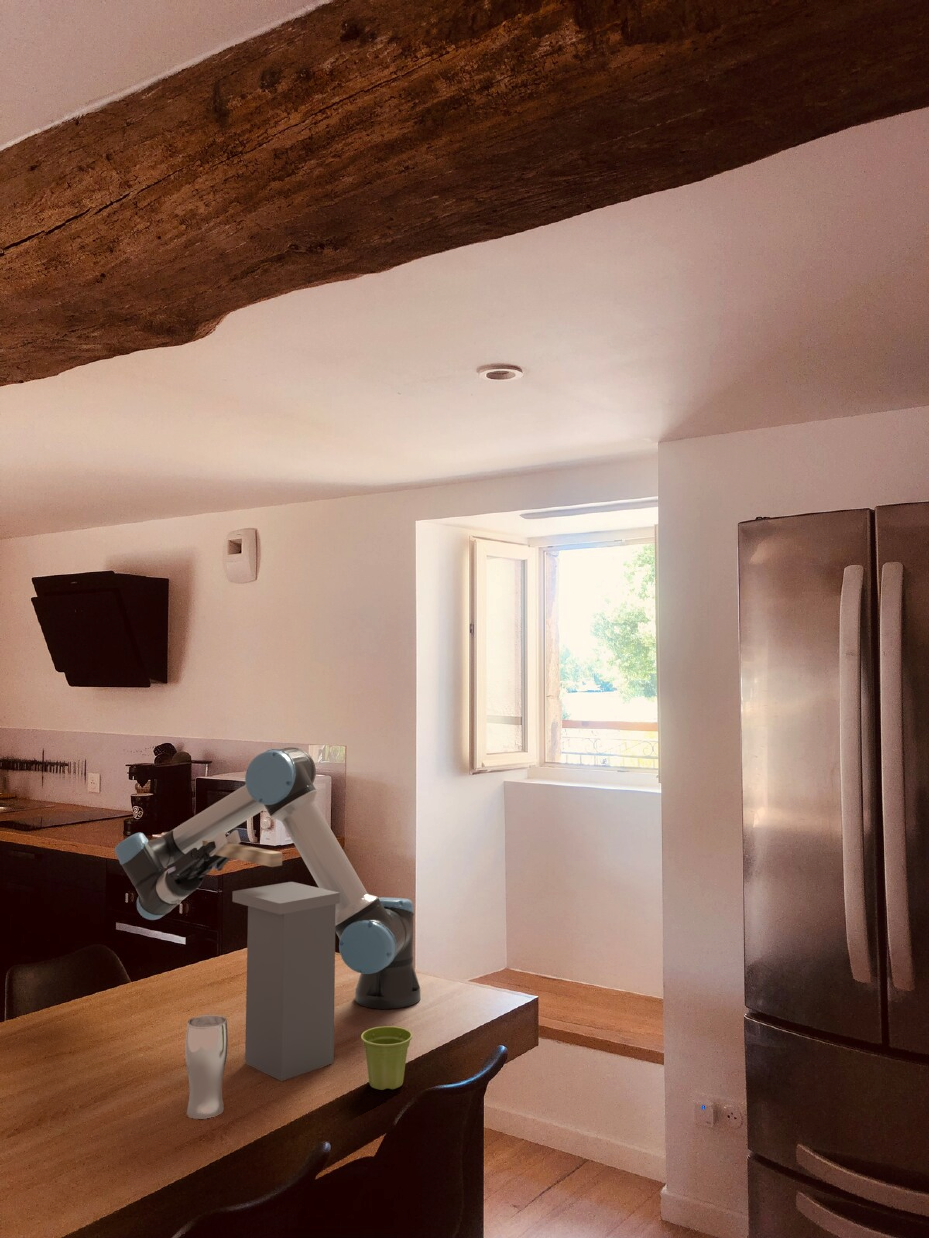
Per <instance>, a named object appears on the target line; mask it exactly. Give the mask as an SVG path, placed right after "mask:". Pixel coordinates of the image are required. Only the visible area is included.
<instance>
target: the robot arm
mask: <svg viewBox="0 0 929 1238" xmlns="http://www.w3.org/2000/svg"><path fill="white" fill-rule="evenodd" d="M315 764H316V763H315V761H314V760H313V758H312V756H311V755H310V754H309V753H308V752H306V751H305V750H303V749H301V748H298V747H284V748H279V749H278V748H272V749H268V750H266V751H262V752H261V753H259V754H258V755H256V756H255V757H254V758H253V759H252V760H251V761H250V763H249V764H248V766H247V770H246V772H245V775H244V776H245V777H244V778H245V779H244V781H245V784H244V785H243V786H241V787H239V788H238V789H236V790H234V791H233V792H231V793H230V794H228V795H226V796H225V797H223V798H221V799H220V800H218V801H216V802H215V803H213V804H212V805H210V806H209V807H207V808H205V809H204V810H202V811H201V812H199V813H197V814H196V815H194V816H193V817H190V818H189V819H188V820H186V821H184V822H182V823H180V825H178V826H177V827H175V828H173V829H171V830H170V831H168V832H167V833H165V834H163V835H161V836H159V837H157V838H154V839H148V838H147V837H146V835H145V834H144V833H143V832H136V833H134V834H132V835H130V836H128V837H125V839H123V840H122V841H120V842H119V843H118V844H117V845H116V846H115V848H114V853H115V855H116V857H117V859H118V861H119V864H120V865H121V867H122V868H123V871H124V872H125V873H126V875H127V877H128V879H129V880H130V882H131V883H132V885H133V886H134V888H135V890H136V892H137V894H138V897H137V898H136V910H137V912H138V913H139V914H140V916H142V918H144V919H146V920H150V921H155V920H159V919H161V918H162V917H164V916H165V915H167V914H169V913H171V911H172V910H173V909H175V908H176V907H177V906H178V905H180V904H181V902H182V901H184V900H185V899H186V898H187V897H188V896H189V895H191V894H192V893H193V892H195V891H196V890H197V889H199V887H201V884H202V882H203V881H204V877H205V876H206V875H207V874H209V873H210V872H211V871H212V870H216V871H218V872H220V871H222V870H224V866H225V865H226V864H227V863H228V862H229V861H230V860H231V859H232V858H227V857H223V856H218V855H215V854H216V853H217V852H218V851H219V850H221V849H222V848H223V847H224V846H225V845H226V844H228V843H227V842H229V843H235V844H240V843H242V841H241V838H240V834H239V830H238V829H235V830H233V829H234V828H236V827H238V826H239V825H241V824H243V823H244V822H246V821H248V820H249V819H251V818H252V817H254V816H256V815H258V814H259V813H260V812H262V811H264V810H266V811H267V813H268V814H269V816H270V818H271V819H274V820H276V821H277V820H278V821H280V822H281V823H282V825H283V827H284V828H285V831H286V832H287V834H288V835H289V837H290V839H291V841H292V842H293V844H294V846H295V848H296V850H297V852H298V853H299V855H300V857H301V858H302V860H303V862H304V864H305V865H306V868H307V869H308V871H309V872H310V874H311V876H312V878H313V880H314V881H315V884H316V886H317V888H321V889H326V890H330V891H335V892H339V893H340V903H338V904H336V915H335V934H336V935H337V936H338V939H339V945H338V949H339V950H338V951H339V953H340V957H341V960H342V961H343V963H344V964H345V965H346V966H347V967H348V968H349V969H350V970H352V971H353V972H356V973H358V974H360V975H359V978H358V980H357V984H356V987H355V991H354V992H355V993H354V996H355V999H354V1000H355V1002H356V1003H357V1004H358V1005H359V1006H363V1007H366V1008H369V1009H376V1010H377V1009H380V1010H386V1009H387V1010H390V1009H402V1008H406V1007H410V1006H412V1005H413V1006H414V1005H416V1004H417V1003H418V1002H419V1001H421V987H420V984H419V983H420V982H419V979H418V977H417V974H416V969H415V966H414V915H415V911H414V904H413V901H412V900H411V899H410V898H403V897H402V898H401V897H379V896H377V895H373V894H369V892H368V891H367V889H366V888H365V885H364V884H363V882H362V881H361V879H360V877H359V876H358V874H357V871H356V870H355V869H354V867H353V865H352V863H351V861H350V860H349V858H348V856H347V855H346V852H345V851H344V849H343V847H342V846H341V844H340V843H339V841H338V840H337V839H338V838H337V837H336V835H335V834H334V832H333V831H332V829H331V827H330V826H329V824H328V821H327V820H326V818H325V816H324V814H323V813H322V811H321V809H320V807H319V806H318V804H317V803H316V796H317V792H318V790H317V788H316V787H315V785H314V782H315V779H316V775H317V770H316V765H315ZM231 830H233V831H231ZM230 831H231V833H230V834H228V835H226V833H228V832H230ZM211 839H213V840H211ZM203 840H211V841H210V842H209V843H208V844H207V845H205V846H202V841H203Z"/></svg>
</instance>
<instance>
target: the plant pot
mask: <svg viewBox="0 0 929 1238" xmlns="http://www.w3.org/2000/svg"><path fill="white" fill-rule="evenodd" d="M360 1039H361V1041H362V1042H363V1043H362V1044H363V1048H364V1049H365V1057H366V1066H367V1074H368V1075H367V1076H368V1077H367V1078H368V1084H369V1086H370V1087H371V1088H373V1089H376V1090H380V1091H385V1090H386V1089H389V1090H395V1089H398V1088H400V1087H401V1086H402V1085H403V1083H404V1078H405V1070H406V1069H405V1068H406V1063H407V1056H408V1055H407V1054H408V1051H409V1050H408V1049H409V1047H410V1042H411V1040H412V1039H413V1032H412V1031H410V1030H409V1029H408V1028H407V1029H406V1028H404V1027H401V1026H400V1027H399V1026H394V1025H392V1026H391V1025H388V1026H387V1025H386V1026H376V1027H372V1028H367V1030H365V1031H363V1032H362V1034H361V1036H360Z"/></svg>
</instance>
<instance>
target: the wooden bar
mask: <svg viewBox="0 0 929 1238" xmlns="http://www.w3.org/2000/svg"><path fill="white" fill-rule="evenodd" d="M211 840H213V839H211ZM211 840H203V841H202V846H205V845H207V844H208V843H209V842H210V841H211ZM227 843H228V844H226V845H225V846H224V847H223V848H222V849H221V850H219V851H218V852H217V853H216V854H215V855H218V856H223V857H227V858H231V859H233V860H238V861H242V862H247V863H251V864H252V863H253V864H257V865H261V866H266V867H269V868H270V867H271V868H275V867H280V866H283V852H282V851H275V850H270V849H265V848H261V847H255V846H251V845H245V844H240V843H239V844H235V843H229V842H227Z"/></svg>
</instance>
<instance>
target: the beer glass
mask: <svg viewBox="0 0 929 1238" xmlns="http://www.w3.org/2000/svg"><path fill="white" fill-rule="evenodd" d="M228 1035H229V1034H228V1018H227V1017H226V1016H224V1015H221V1014H220V1015H219V1014H205V1015H204V1014H203V1015H197V1016H194V1017H192V1018H190V1019H188V1021H187V1026H186V1037H185V1049H184V1050H185V1054H184V1055H185V1065H186V1072H187V1080H188V1086H189V1095H188V1096H189V1098H188V1103H187V1108H186V1116H187V1115H188V1116H187V1117H188V1118H190V1119H192V1118H193V1120H198V1119H204V1120H208V1119H207V1118H210V1117H213V1116H216V1115H219V1114H220V1113H221V1114H222V1113H223V1112H224V1109H225V1106H224V1101H223V1100H224V1098H223V1091H222V1090H223V1089H222V1088H223V1080H224V1075H225V1071H226V1069H225V1068H226V1063H227V1058H228V1049H229V1048H228V1047H229V1044H228V1043H229V1042H228V1041H229V1038H228ZM221 1114H220V1115H221ZM220 1115H219V1116H220ZM210 1119H211V1118H210Z"/></svg>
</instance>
